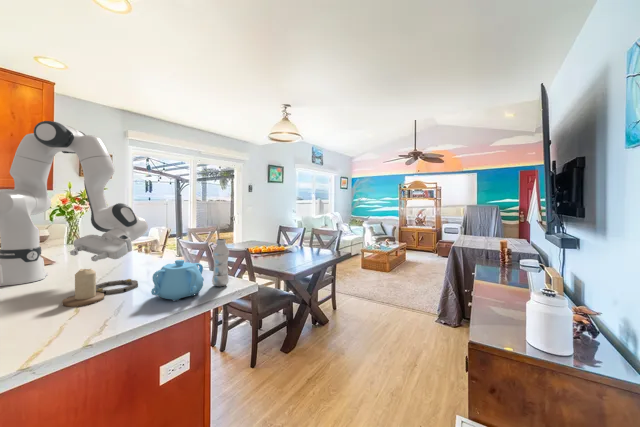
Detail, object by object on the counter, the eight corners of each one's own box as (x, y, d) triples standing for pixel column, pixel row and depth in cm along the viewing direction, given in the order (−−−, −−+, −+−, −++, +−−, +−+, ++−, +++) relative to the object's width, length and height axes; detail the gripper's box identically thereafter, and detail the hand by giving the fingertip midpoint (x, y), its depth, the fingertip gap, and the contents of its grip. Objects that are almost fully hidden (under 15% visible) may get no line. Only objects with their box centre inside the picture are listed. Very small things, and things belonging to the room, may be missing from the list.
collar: (80, 292, 101) (80, 288, 101) (115, 281, 116) (115, 277, 116) (114, 295, 99) (114, 291, 99) (146, 284, 114) (146, 279, 114)
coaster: (53, 305, 89) (53, 302, 89) (86, 294, 100) (86, 291, 100) (81, 308, 87) (81, 304, 87) (112, 296, 98) (112, 293, 98)
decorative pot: (166, 289, 108) (166, 256, 108) (207, 288, 110) (207, 255, 110) (145, 304, 92) (145, 265, 92) (194, 302, 94) (194, 264, 94)
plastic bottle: (211, 284, 115) (212, 238, 115) (228, 282, 118) (228, 238, 117) (212, 289, 109) (212, 240, 109) (229, 287, 112) (230, 240, 112)
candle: (98, 293, 97) (98, 266, 97) (91, 299, 92) (91, 270, 92) (79, 295, 95) (79, 267, 95) (71, 300, 90) (71, 271, 90)
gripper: (91, 228, 116) (57, 243, 103) (133, 239, 113) (103, 256, 101) (94, 240, 118) (61, 257, 106) (135, 251, 116) (106, 269, 103)
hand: (82, 256), depth 103 cm, fingers open, 8 cm apart
